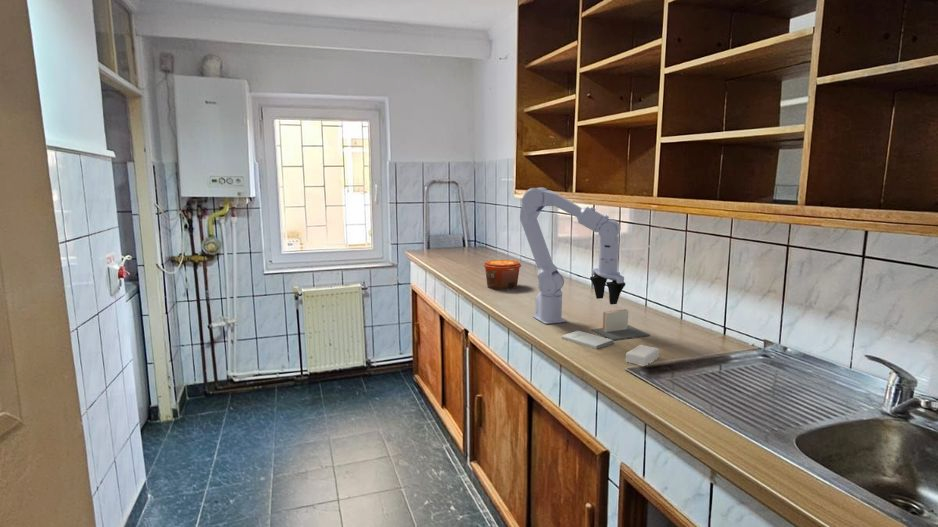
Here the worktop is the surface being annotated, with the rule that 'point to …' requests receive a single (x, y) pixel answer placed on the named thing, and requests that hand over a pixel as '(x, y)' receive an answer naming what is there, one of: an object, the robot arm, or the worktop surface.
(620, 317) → the tile
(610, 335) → the mat
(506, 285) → the food container
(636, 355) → the soap
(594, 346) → the external hard drive
